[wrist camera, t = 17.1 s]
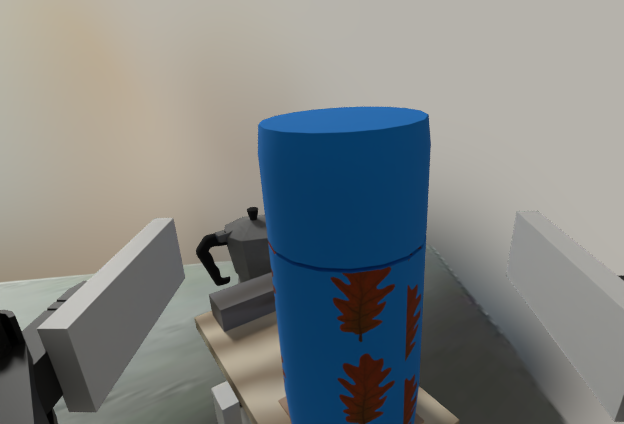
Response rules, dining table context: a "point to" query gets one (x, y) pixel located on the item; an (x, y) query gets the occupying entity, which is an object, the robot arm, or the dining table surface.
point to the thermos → (348, 258)
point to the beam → (266, 353)
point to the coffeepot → (239, 248)
